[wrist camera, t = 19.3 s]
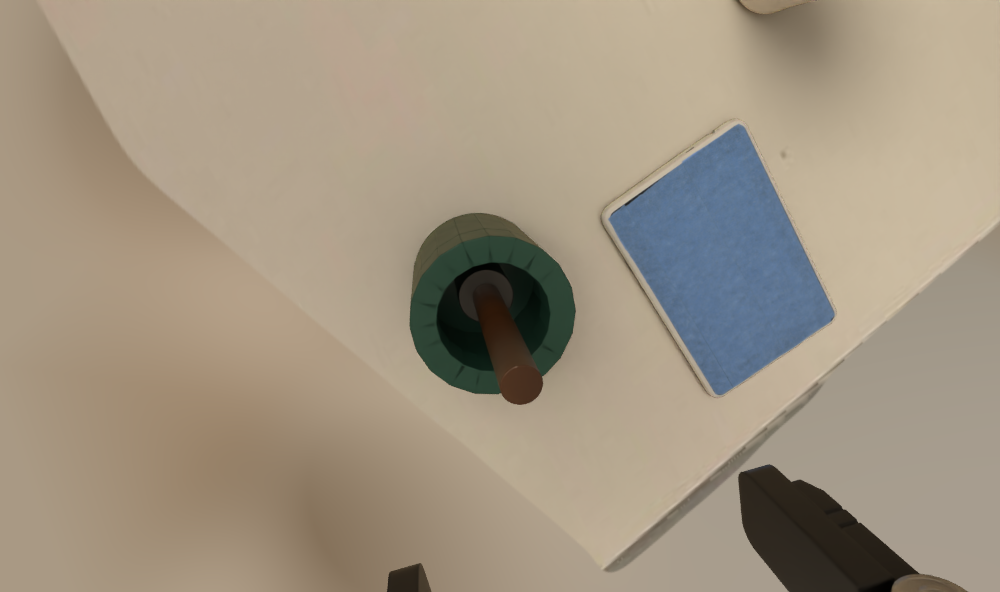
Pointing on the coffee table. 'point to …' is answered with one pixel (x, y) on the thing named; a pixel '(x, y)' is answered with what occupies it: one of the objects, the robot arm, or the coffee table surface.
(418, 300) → the green hollow cylinder
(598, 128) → the coffee table surface
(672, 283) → the tablet
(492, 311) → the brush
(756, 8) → the white tall cup
